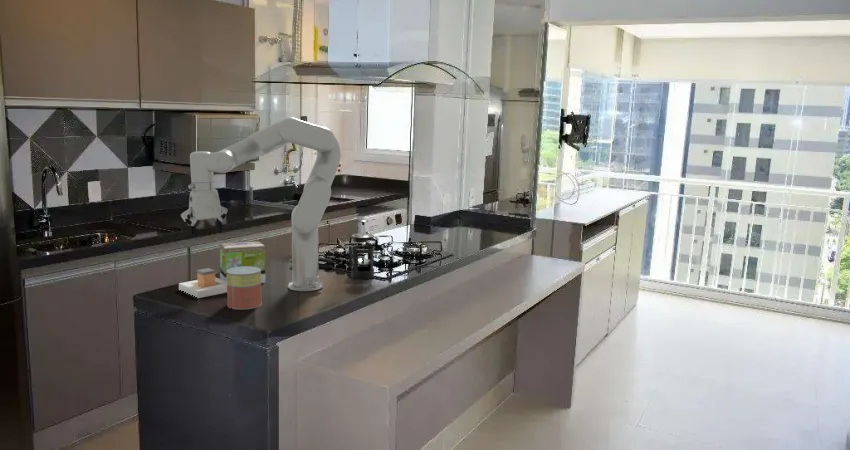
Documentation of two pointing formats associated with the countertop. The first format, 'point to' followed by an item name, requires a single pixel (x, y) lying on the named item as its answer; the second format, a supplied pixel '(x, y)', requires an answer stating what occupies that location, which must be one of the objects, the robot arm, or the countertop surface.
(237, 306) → the canned food
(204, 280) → the plug
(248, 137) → the robot arm
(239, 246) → the tea box
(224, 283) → the socket plate
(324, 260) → the can opener
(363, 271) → the french press
